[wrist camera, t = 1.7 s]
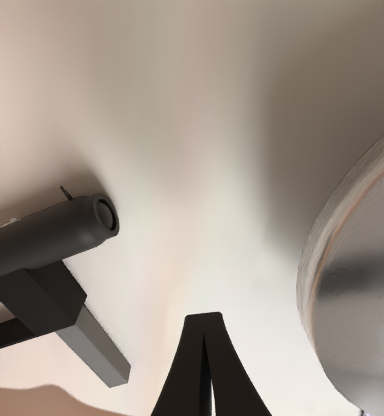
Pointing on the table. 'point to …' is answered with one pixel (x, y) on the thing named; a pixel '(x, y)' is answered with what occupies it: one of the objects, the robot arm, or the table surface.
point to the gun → (58, 281)
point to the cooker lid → (348, 284)
